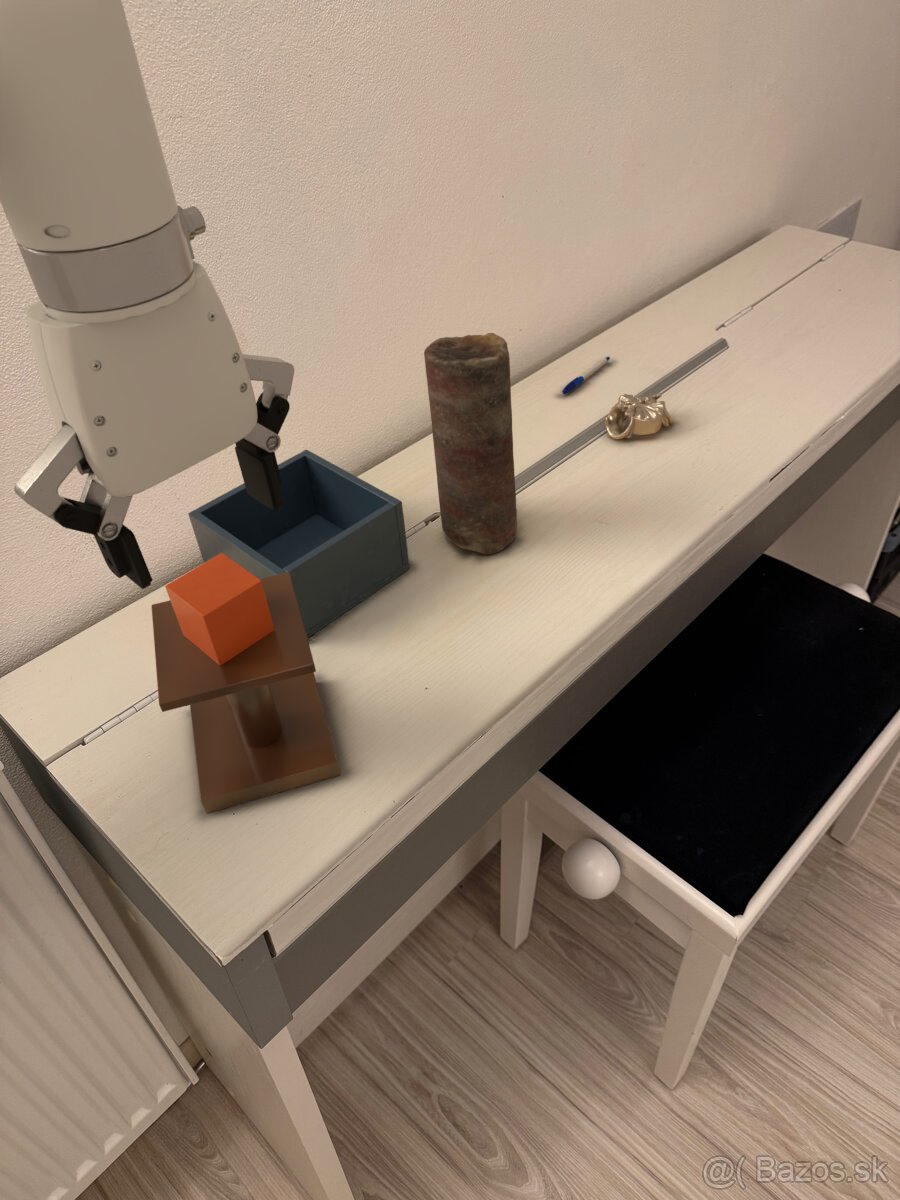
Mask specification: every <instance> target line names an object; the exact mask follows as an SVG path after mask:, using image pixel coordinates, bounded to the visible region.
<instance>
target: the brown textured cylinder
mask: <svg viewBox="0 0 900 1200" xmlns="http://www.w3.org/2000/svg"><path fill="white" fill-rule="evenodd" d="M423 355H424V356H423V358H424V365H425V366H424V367H425V375H426V384H427V393H428V402H429V410H430V412H429V413H430V420H431V431H432V440H433V441H432V442H433V450H434V451H433V452H434V453H433V454H434V462H435V463H434V464H435V473H436V484H437V493H438V503H439V512H440V513H439V514H440V521H441V528H442V531H443V533H444V535H445V537H446V538H447V539H448V540H449V541H451V542H452V543H454V544H455V546H457V547H458V548H460V549H464V550H468V551H471V552H476V553H480V554H482V555H493V554H496V553H498V552H501V551H502V550H503V549H505V548H506V547H507V546H509V544H511V543H512V542H513V541H514V540H515V539H516V535H517V530H518V517H517V516H518V515H517V514H518V513H517V493H516V475H515V460H514V459H515V458H514V436H513V409H512V408H513V407H512V388H511V386H512V385H511V384H512V383H511V363H510V362H511V361H510V351H509V349H508V342H507V341H506V340H505V339H504V338H503V337H501V336H500V335H497V334H496V333H494V332H488V333H486V334H472V335H471V334H467V335H464V336H453V337H451V336H444V337H438V338H437V339H435V340H434V341H432V342H431V343H430V344H429V345H428V346H426V348H425V349H424V352H423Z"/></svg>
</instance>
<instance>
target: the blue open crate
mask: <svg viewBox="0 0 900 1200" xmlns="http://www.w3.org/2000/svg"><path fill="white" fill-rule="evenodd" d="M277 464H278V463H277ZM278 468H279V472H280V476H281V480H282V485H281V486H280V490H281V494H282V499H283V503H284V506H283V507H282V508H280V509H279V510H272V509H270V508H268V507H267V506H265V505H264V504H262V503H260V502H259V501H257V500H256V499H254V498H252V497H251V496H249V494H248V493H247V491H246V487H245V484H244V482H243V483H242V484H240V485H238V486H236V487H234V488H232V489H231V490H229V491H227V492H225V493H223V494H221V495H220V496H218V497H216V498H213V499H212V500H209V501H208V502H206V503H205V504H203V505H200V506H199V507H197V508H195V509H194V510H191V511H190V512H188V513H187V515H188V517H189V520H190V524H191V527H192V530H193V534H194V536H195V539H196V542H197V545H198V548H199V552H200V555H201V558H202V561H203V563H205V562H207V561H209V560H210V559H212V558H214V557H216V556H217V555H219V554H221V553H223V554H224V555H226V556H227V557H229V558H230V559H231V560H233V561H234V562H236V563H237V564H238V565H240V566H241V567H243V568H244V569H246V570H247V571H248V572H250V573H251V574H253V575H254V576H255V577H257V578H258V579H262V578H266V577H270V576H274V575H278V574H283V573H287V572H289V573H290V576H291V580H292V583H293V587H294V591H295V594H296V598H297V602H298V605H299V609H300V613H301V617H302V620H303V624H304V628H305V631H306V635H307V639H309V638H310V637H312V636H313V635H315V634H316V633H318V632H319V631H320V630H322V629H323V628H325V627H326V626H328V625H329V624H330V623H333V621H335V620H337V619H338V618H339V617H341V616H342V615H344V614H346V613H347V612H348V611H349V610H351V609H352V608H354V607H355V606H357V605H359V604H360V603H361V602H363V601H364V600H366V599H367V598H369V597H370V596H372V595H373V594H374V593H377V591H379V590H380V589H382V588H384V587H385V586H386V585H387V584H389V583H391V582H392V581H393V580H395V579H397V578H398V577H400V576H401V575H402V574H404V573H406V572H407V571H409V570H410V569H411V568H410V559H409V551H408V543H407V542H408V541H407V534H406V533H407V532H406V525H405V516H404V509H403V501H402V500H400V499H398V498H396V497H395V496H393V495H391V494H389V493H387V492H385V491H383V490H381V489H380V488H378V487H376V486H374V485H373V484H371V483H369V482H367V481H365V480H363V479H362V478H361V477H358V476H356V475H354V474H353V473H350V472H349V471H347V470H345V469H344V468H342V467H339V466H338V465H337V464H334V463H332V462H330V461H328V460H327V459H325V458H323V457H322V456H319V455H317V454H316V453H314V452H312V451H311V450H309V449H303V450H302V451H301V452H299V453H297V454H295V455H293V456H291V457H290V458H288V459H286V460H284V461H282V462H280V463H279V464H278Z"/></svg>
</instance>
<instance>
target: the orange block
mask: <svg viewBox="0 0 900 1200" xmlns="http://www.w3.org/2000/svg"><path fill="white" fill-rule="evenodd" d="M164 587H165V590H166V593H167V596H168V598H169V600H170V601H171V604H172V606H173V609H174V612H175V614H176V617H177V620H178V622H179V625H180V628H181V630H182V633H183V635H184V636H185V637H186V638H187V639H189V640H190V641H191V642H192V643H193V644H195V645H196V646H197V647H198V648H199V649H201V650H202V651H203V652H204V653H205V654H206V655H208V656H209V657H210V658H211V659H212V660H214V661H215V662H216V663H217V664H218V665H220V666H221V665H223V664H224V663H226V662H227V661H229V660H230V659H232V658H233V657H235V656H236V655H238V654H240V653H241V652H243V651H244V650H246V649H247V648H249V647H250V646H252V645H253V644H255V643H256V642H258V641H259V640H261V639H262V638H264V637H265V636H267V635H268V634H270V633H271V632H273V631H274V630H275V629H274V626H273V622H272V618H271V615H270V611H269V607H268V604H267V600H266V596H265V593H264V589H263V585H262V581H261V580H260V579H258V578H257V577H255V576H254V575H253V574H251V573H250V572H248V571H247V570H246V569H244V568H243V567H241V566H240V565H238V564H237V563H236V562H234V561H233V560H231V559H230V558H229V557H227V556H226V555H224V554H223V553H221V554H219V555H217V556H216V557H214V558H212V559H210V560H209V561H207V562H205V563H204V562H203V563H202V564H200V565H199V566H196V567H195V568H193V569H191V570H189V571H188V572H186V573H184V574H183V575H181V576H179V577H178V578H176V579H174V580H172V581H171V582H169V583H167V584H165V586H164Z"/></svg>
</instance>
